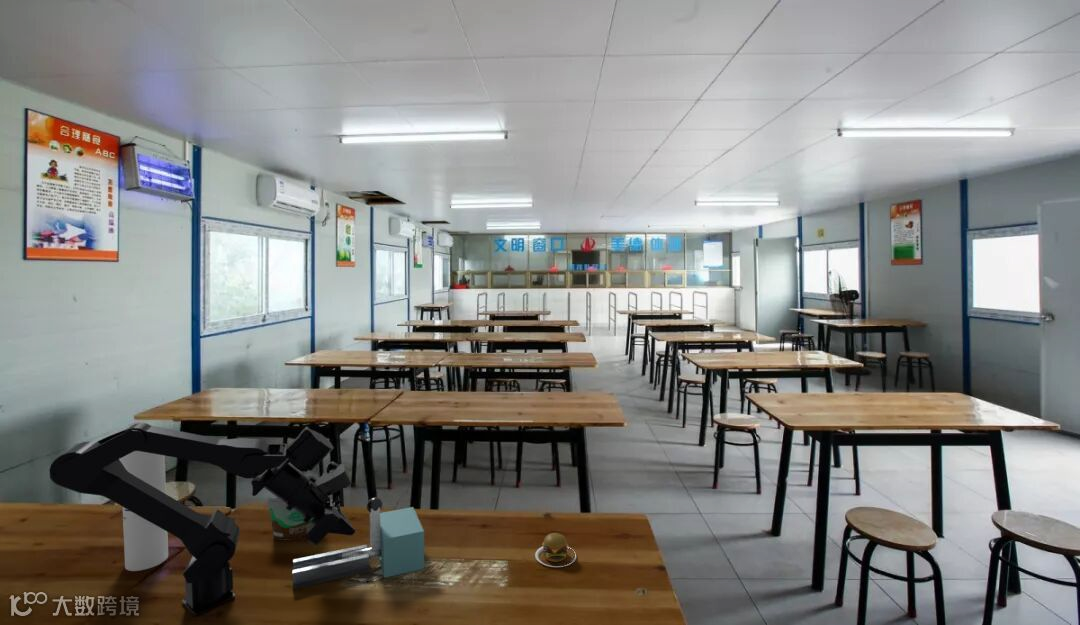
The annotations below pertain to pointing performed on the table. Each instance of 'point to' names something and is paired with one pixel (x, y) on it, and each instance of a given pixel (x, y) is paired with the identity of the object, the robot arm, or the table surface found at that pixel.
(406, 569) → the socket block
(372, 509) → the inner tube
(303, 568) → the outer sleeve
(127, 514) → the cylindrical container
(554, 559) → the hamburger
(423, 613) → the table surface
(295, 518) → the food container
